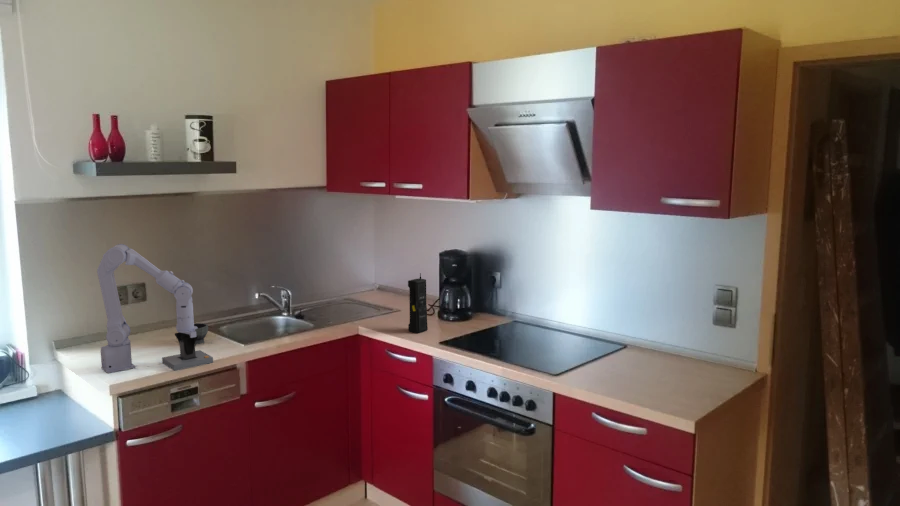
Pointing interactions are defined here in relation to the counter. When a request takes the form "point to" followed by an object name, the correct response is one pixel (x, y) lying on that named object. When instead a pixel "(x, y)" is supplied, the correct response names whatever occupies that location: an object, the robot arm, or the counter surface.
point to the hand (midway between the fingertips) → (187, 352)
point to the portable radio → (417, 305)
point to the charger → (183, 352)
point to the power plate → (187, 360)
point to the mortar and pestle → (201, 332)
